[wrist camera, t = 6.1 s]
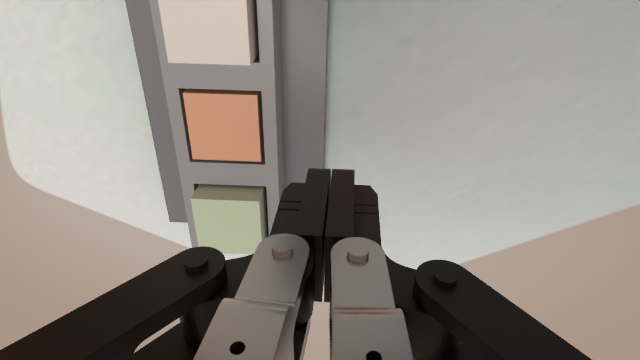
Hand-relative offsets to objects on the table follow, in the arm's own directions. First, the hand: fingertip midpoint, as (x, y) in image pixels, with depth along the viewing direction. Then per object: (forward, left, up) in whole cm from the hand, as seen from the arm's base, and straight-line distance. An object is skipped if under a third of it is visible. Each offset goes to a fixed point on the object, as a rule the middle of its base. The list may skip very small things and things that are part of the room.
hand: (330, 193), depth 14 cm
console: (+8, +5, -23) cm, 25 cm away
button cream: (+8, -3, -18) cm, 20 cm away
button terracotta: (+8, +5, -20) cm, 22 cm away
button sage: (+8, +13, -18) cm, 24 cm away
